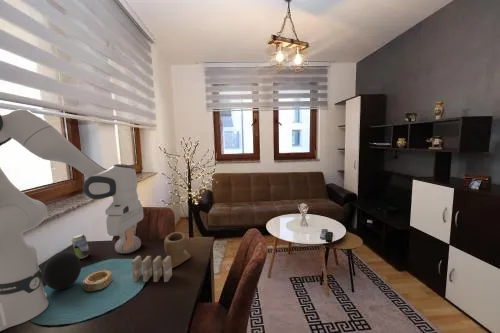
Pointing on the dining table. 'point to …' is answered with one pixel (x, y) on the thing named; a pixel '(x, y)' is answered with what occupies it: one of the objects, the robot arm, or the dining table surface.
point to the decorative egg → (62, 270)
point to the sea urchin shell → (137, 244)
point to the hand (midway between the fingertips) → (128, 237)
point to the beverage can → (80, 246)
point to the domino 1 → (129, 238)
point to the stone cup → (176, 248)
